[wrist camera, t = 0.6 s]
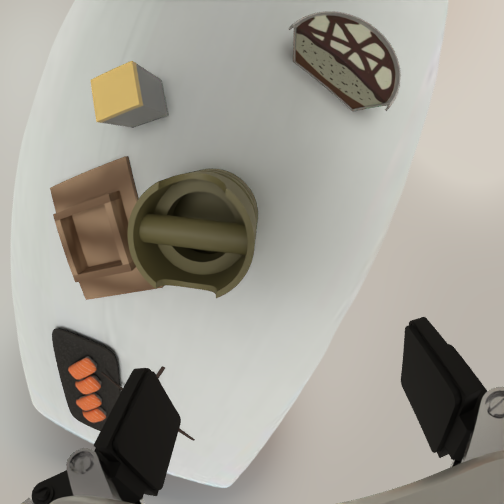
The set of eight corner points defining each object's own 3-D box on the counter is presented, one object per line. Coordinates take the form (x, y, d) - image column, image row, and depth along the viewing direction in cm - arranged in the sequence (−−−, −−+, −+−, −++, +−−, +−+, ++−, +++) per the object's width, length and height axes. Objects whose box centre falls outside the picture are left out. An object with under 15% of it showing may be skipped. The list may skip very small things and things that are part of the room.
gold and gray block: (126, 93, 31) (90, 79, 22) (161, 80, 30) (132, 60, 22) (133, 127, 32) (96, 121, 24) (168, 115, 32) (139, 104, 23)
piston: (246, 309, 26) (129, 291, 26) (252, 263, 37) (166, 252, 38) (262, 182, 23) (129, 170, 23) (263, 173, 34) (171, 165, 34)
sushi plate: (54, 319, 43) (43, 329, 40) (209, 371, 44) (205, 387, 41) (75, 413, 52) (68, 423, 49) (192, 454, 53) (189, 467, 50)
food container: (388, 88, 29) (426, 71, 20) (361, 119, 31) (394, 108, 22) (314, 25, 27) (329, -12, 18) (283, 54, 29) (289, 20, 19)
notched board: (53, 187, 35) (37, 191, 31) (128, 156, 34) (114, 157, 30) (88, 297, 40) (76, 308, 37) (164, 285, 39) (155, 297, 35)
